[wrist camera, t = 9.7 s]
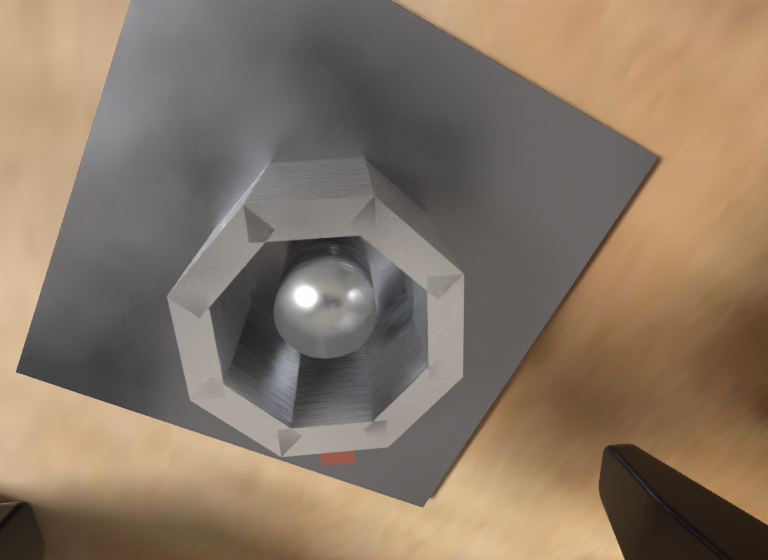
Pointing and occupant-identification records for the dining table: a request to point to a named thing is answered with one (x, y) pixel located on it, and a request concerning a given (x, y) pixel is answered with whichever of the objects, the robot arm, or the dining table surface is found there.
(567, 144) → the duct stub
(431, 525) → the dining table surface
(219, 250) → the collar
